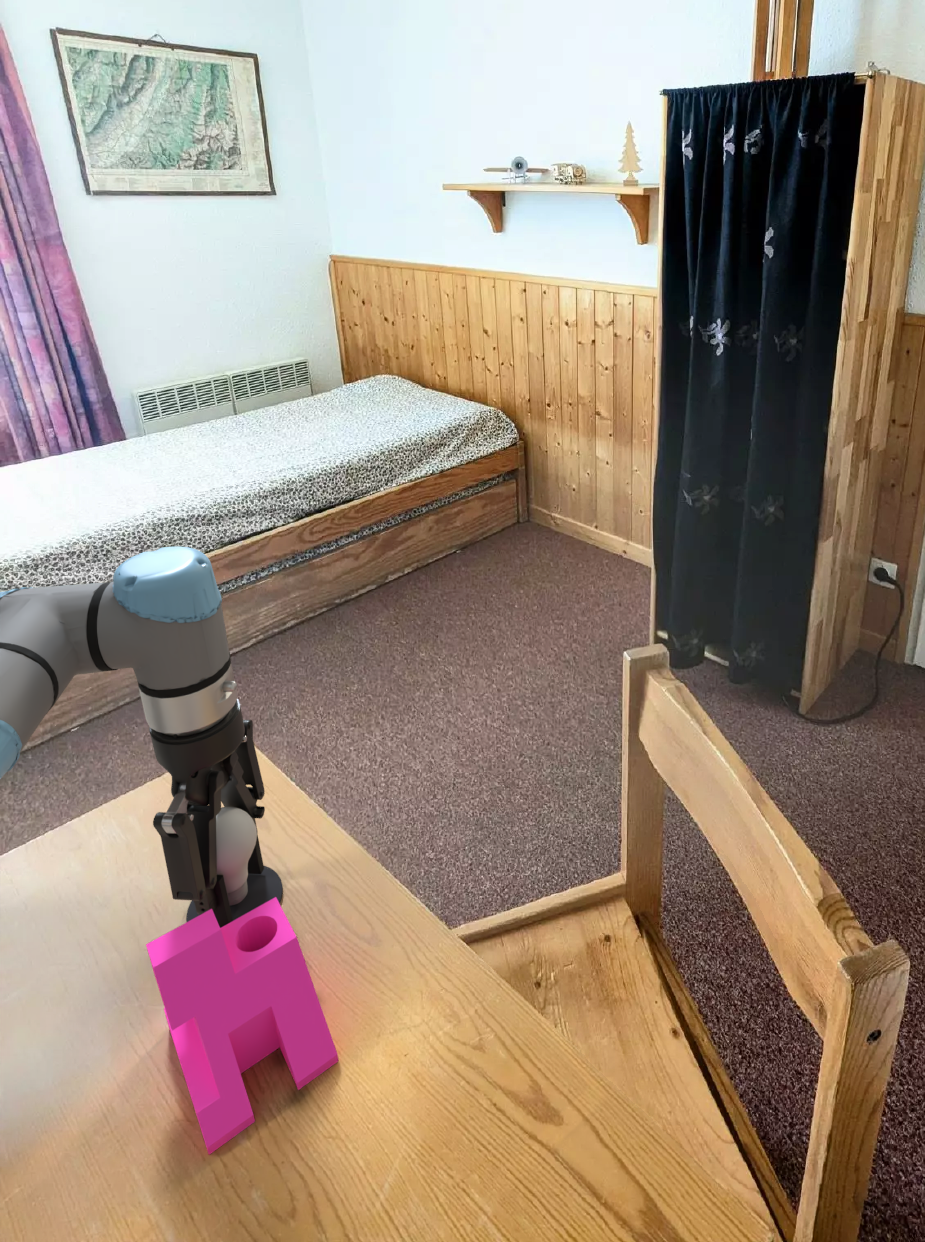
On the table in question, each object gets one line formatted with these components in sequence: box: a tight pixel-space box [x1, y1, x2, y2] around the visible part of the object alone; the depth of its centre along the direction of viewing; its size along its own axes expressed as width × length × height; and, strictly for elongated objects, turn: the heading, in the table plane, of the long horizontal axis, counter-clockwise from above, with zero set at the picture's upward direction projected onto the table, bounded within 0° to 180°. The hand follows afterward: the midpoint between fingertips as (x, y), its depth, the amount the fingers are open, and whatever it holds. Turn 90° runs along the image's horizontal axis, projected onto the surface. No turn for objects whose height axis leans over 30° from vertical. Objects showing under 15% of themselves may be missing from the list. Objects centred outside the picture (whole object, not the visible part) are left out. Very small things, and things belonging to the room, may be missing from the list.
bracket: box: [145, 897, 339, 1156], centre depth 64 cm, size 12×10×10 cm
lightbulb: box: [216, 806, 258, 905], centre depth 76 cm, size 6×6×11 cm
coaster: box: [185, 865, 284, 923], centre depth 78 cm, size 9×9×1 cm
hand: (234, 897), depth 78 cm, fingers closed on lightbulb, 6 cm apart
